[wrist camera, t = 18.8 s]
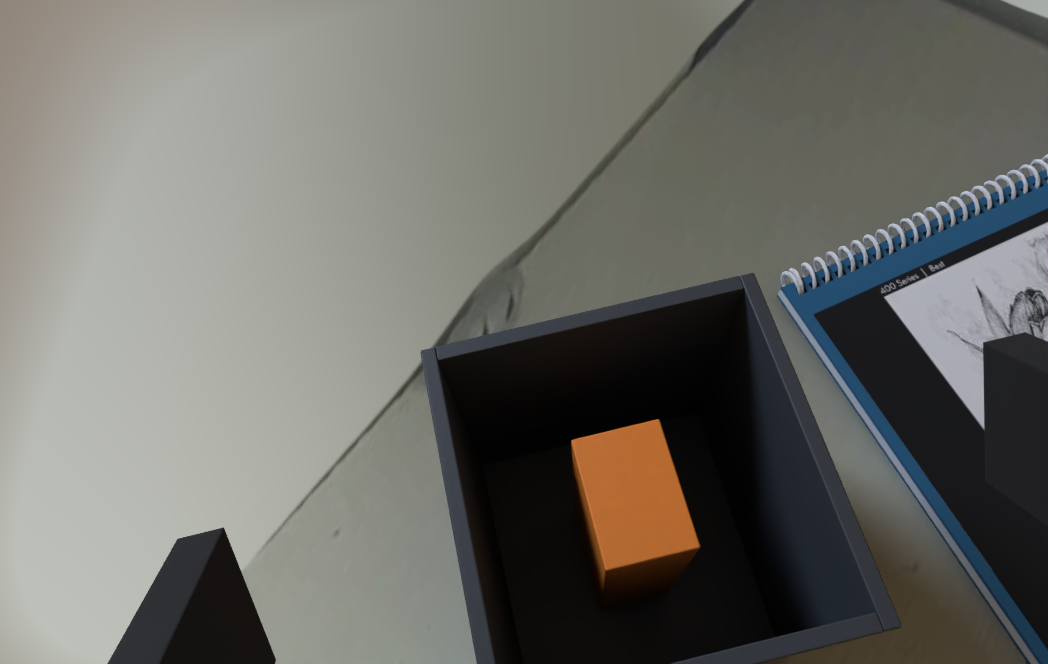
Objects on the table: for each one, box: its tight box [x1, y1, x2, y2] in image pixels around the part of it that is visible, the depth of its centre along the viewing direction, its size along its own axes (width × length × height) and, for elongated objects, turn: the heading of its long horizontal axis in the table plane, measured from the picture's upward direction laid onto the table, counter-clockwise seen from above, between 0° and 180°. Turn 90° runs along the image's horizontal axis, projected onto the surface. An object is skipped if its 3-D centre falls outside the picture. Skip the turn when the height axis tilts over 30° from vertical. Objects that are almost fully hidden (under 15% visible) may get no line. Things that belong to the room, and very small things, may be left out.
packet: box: [571, 419, 700, 610], centre depth 34 cm, size 4×5×12 cm
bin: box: [421, 273, 901, 664], centre depth 33 cm, size 13×13×15 cm
